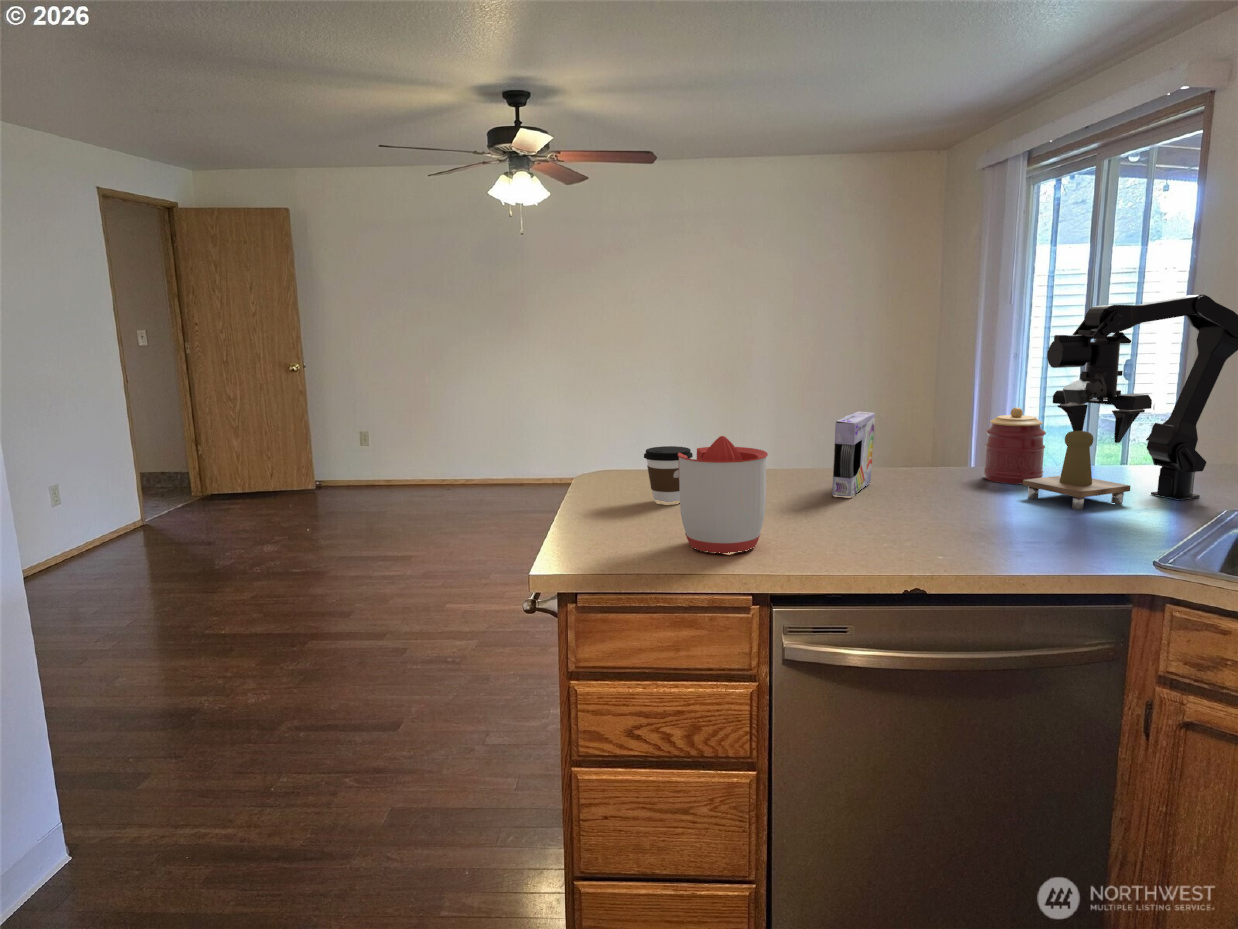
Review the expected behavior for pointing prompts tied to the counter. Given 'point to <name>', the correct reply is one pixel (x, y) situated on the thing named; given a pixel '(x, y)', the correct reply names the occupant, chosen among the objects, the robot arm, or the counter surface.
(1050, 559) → the counter surface
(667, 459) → the coffee cup
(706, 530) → the citrus juicer
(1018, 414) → the canister
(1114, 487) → the shelf board
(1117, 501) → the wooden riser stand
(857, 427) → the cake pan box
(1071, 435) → the cork
